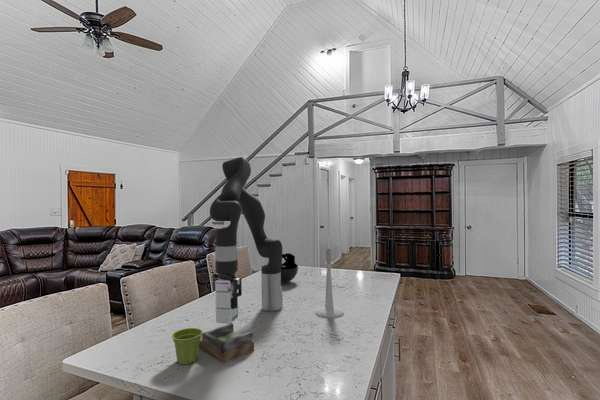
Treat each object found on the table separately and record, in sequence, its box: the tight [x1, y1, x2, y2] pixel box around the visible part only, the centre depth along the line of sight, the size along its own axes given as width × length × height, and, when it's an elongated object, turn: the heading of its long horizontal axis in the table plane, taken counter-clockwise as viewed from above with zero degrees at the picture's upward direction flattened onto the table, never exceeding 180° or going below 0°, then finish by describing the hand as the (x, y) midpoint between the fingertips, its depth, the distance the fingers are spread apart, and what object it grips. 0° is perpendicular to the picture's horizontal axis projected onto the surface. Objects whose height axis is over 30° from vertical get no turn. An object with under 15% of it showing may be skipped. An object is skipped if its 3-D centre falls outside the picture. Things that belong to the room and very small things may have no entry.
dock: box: [198, 323, 255, 364], centre depth 111 cm, size 12×20×6 cm, turn 47°
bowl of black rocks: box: [281, 253, 299, 284], centre depth 200 cm, size 20×20×19 cm
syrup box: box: [214, 276, 239, 325], centre depth 109 cm, size 6×6×14 cm
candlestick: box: [314, 247, 344, 319], centre depth 144 cm, size 13×13×30 cm
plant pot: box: [171, 327, 203, 365], centre depth 102 cm, size 9×9×9 cm
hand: (227, 305), depth 109 cm, fingers closed on syrup box, 7 cm apart
